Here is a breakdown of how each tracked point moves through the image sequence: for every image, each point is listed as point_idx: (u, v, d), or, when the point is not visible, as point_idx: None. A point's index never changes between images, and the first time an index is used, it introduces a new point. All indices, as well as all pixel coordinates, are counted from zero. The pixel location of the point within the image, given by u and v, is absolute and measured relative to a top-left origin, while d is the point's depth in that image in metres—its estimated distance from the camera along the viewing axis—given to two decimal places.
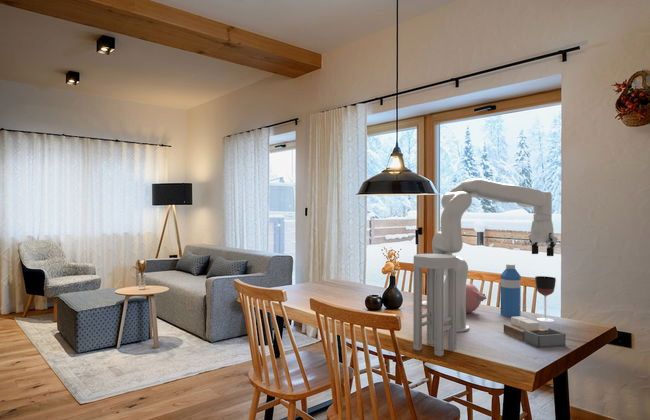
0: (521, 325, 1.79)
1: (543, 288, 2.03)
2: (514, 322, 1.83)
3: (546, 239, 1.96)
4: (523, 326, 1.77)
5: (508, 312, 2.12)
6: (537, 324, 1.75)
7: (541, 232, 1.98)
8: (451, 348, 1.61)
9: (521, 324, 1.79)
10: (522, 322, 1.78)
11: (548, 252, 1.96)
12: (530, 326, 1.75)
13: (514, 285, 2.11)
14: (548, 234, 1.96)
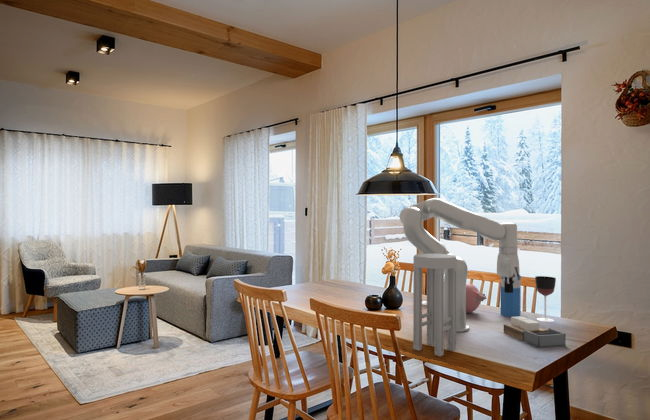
0: (521, 325, 1.79)
1: (543, 288, 2.03)
2: (514, 322, 1.83)
3: (511, 274, 1.86)
4: (523, 326, 1.77)
5: (508, 312, 2.12)
6: (537, 324, 1.75)
7: (506, 266, 1.88)
8: (451, 348, 1.61)
9: (521, 324, 1.79)
10: (522, 322, 1.78)
11: (507, 289, 1.90)
12: (530, 326, 1.75)
13: (514, 285, 2.11)
14: (513, 269, 1.86)
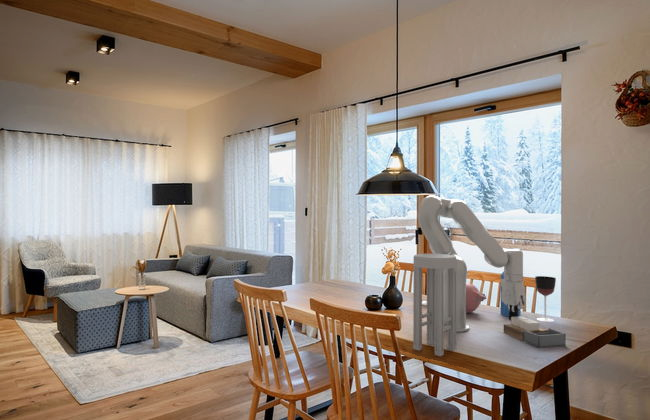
0: (521, 325, 1.79)
1: (543, 288, 2.03)
2: (514, 322, 1.83)
3: (517, 302, 1.82)
4: (523, 326, 1.77)
5: (508, 312, 2.12)
6: (537, 324, 1.75)
7: (511, 294, 1.84)
8: (451, 348, 1.61)
9: (521, 324, 1.79)
10: (522, 322, 1.78)
11: None
12: (530, 326, 1.75)
13: None
14: (519, 297, 1.82)
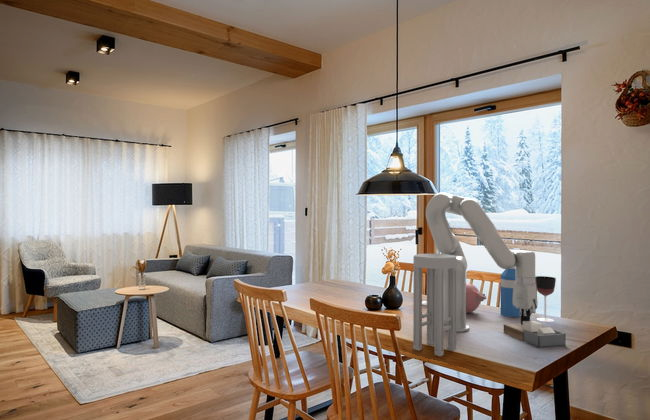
0: (540, 330, 1.68)
1: (543, 288, 2.03)
2: (526, 326, 1.75)
3: (529, 306, 1.75)
4: (539, 333, 1.69)
5: (508, 312, 2.12)
6: None
7: (524, 297, 1.77)
8: (451, 348, 1.61)
9: (541, 332, 1.67)
10: None
11: None
12: None
13: None
14: (531, 300, 1.75)
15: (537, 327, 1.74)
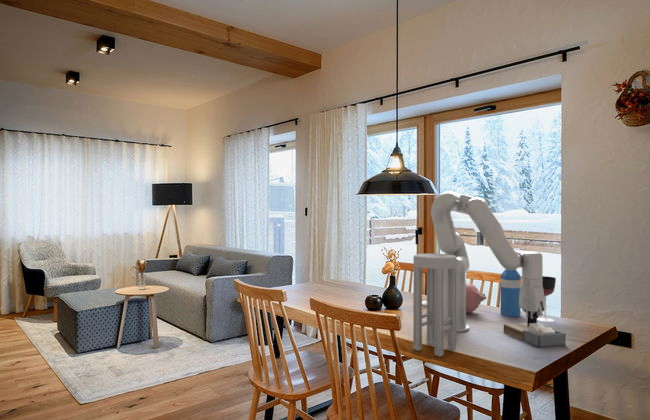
0: (540, 330, 1.68)
1: (543, 288, 2.03)
2: (532, 330, 1.72)
3: (536, 308, 1.71)
4: (539, 333, 1.68)
5: (508, 312, 2.12)
6: None
7: (530, 300, 1.73)
8: (451, 348, 1.61)
9: (541, 332, 1.67)
10: (542, 334, 1.67)
11: None
12: None
13: (514, 285, 2.11)
14: (538, 303, 1.71)
15: None
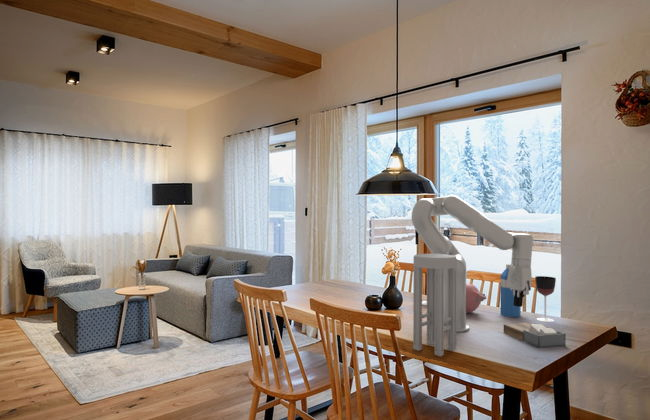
0: (541, 331, 1.67)
1: (543, 288, 2.03)
2: (533, 331, 1.71)
3: (523, 287, 1.77)
4: (540, 334, 1.68)
5: (508, 312, 2.12)
6: None
7: (518, 279, 1.79)
8: (451, 348, 1.61)
9: (542, 333, 1.67)
10: None
11: (517, 302, 1.82)
12: None
13: None
14: (525, 282, 1.77)
15: None
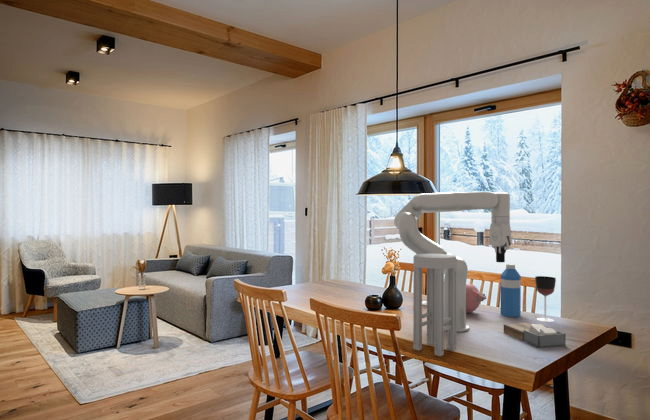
0: (541, 331, 1.67)
1: (543, 288, 2.03)
2: (533, 331, 1.71)
3: (503, 243, 1.86)
4: (540, 334, 1.68)
5: (508, 312, 2.12)
6: None
7: (498, 235, 1.88)
8: (451, 348, 1.61)
9: (542, 333, 1.67)
10: None
11: (499, 258, 1.90)
12: None
13: (514, 285, 2.11)
14: (505, 237, 1.86)
15: None
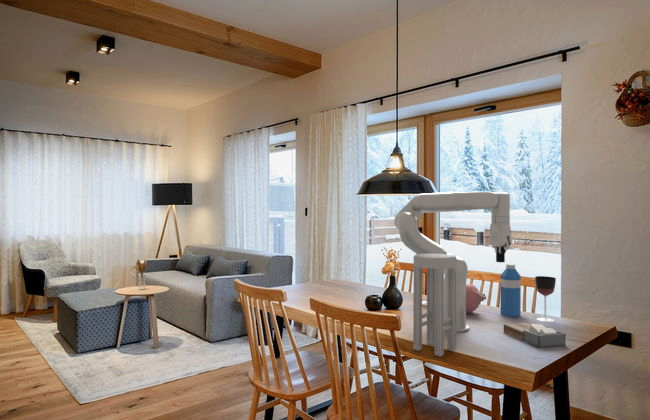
0: (541, 331, 1.67)
1: (543, 288, 2.03)
2: (533, 331, 1.71)
3: (503, 243, 1.86)
4: (540, 334, 1.68)
5: (508, 312, 2.12)
6: None
7: (498, 235, 1.88)
8: (451, 348, 1.61)
9: (542, 333, 1.67)
10: None
11: (499, 258, 1.90)
12: None
13: (514, 285, 2.11)
14: (505, 237, 1.86)
15: None
